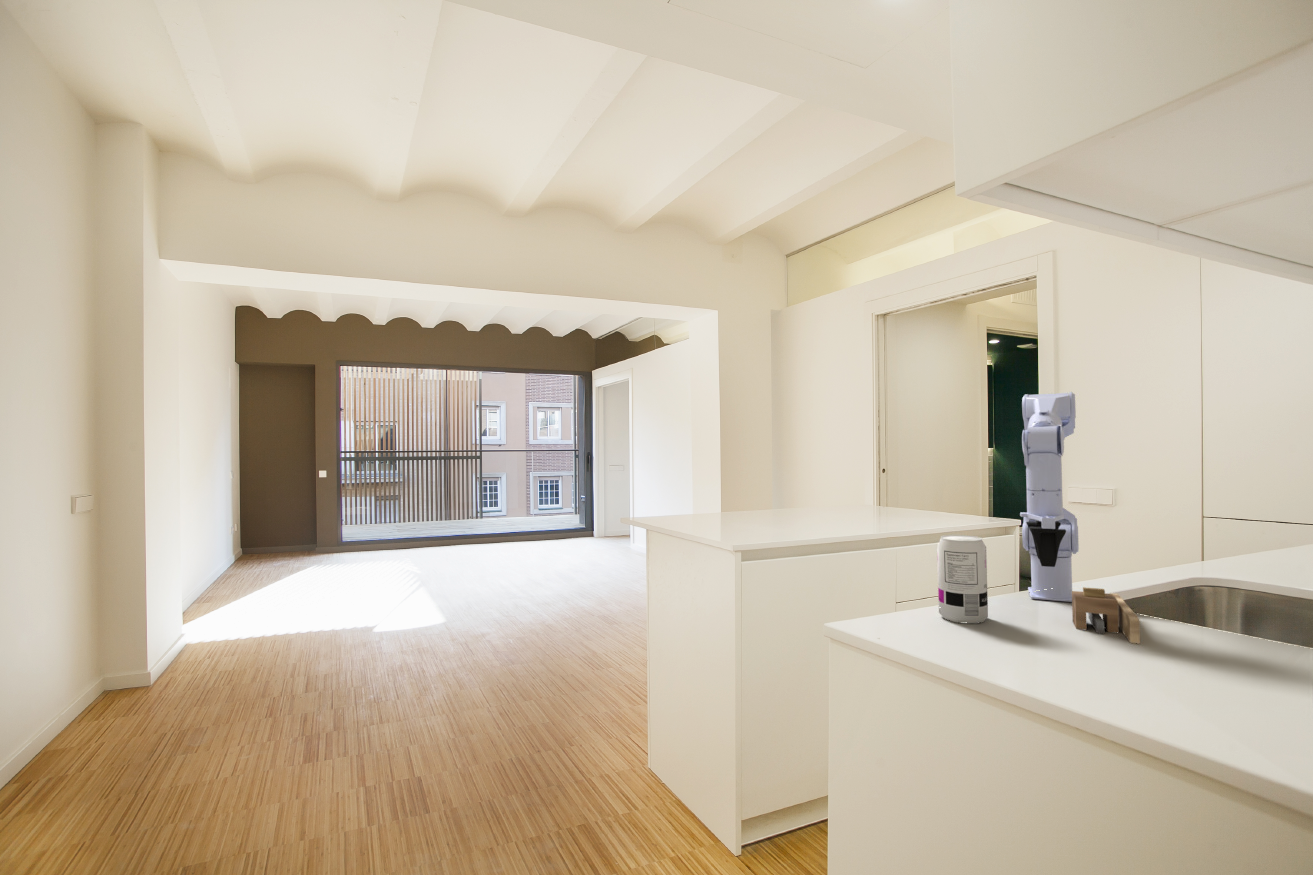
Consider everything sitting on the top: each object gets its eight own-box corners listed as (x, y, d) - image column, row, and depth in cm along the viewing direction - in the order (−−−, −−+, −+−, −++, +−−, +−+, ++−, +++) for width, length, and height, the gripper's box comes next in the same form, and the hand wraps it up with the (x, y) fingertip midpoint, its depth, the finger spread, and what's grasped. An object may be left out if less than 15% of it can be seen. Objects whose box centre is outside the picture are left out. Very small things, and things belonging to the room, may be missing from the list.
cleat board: (1085, 612, 119) (1084, 591, 119) (1118, 615, 116) (1117, 593, 116) (1101, 639, 103) (1100, 615, 103) (1139, 643, 100) (1139, 618, 100)
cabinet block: (1072, 621, 113) (1071, 584, 113) (1113, 625, 111) (1112, 587, 111) (1076, 628, 109) (1075, 590, 109) (1118, 633, 106) (1117, 593, 106)
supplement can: (929, 614, 119) (927, 536, 119) (964, 610, 122) (962, 533, 122) (962, 626, 112) (959, 542, 112) (998, 621, 114) (996, 539, 114)
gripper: (1017, 486, 126) (1019, 554, 126) (1021, 492, 113) (1023, 568, 113) (1059, 487, 122) (1061, 556, 122) (1068, 493, 110) (1070, 571, 109)
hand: (1046, 562), depth 117 cm, fingers open, 7 cm apart
